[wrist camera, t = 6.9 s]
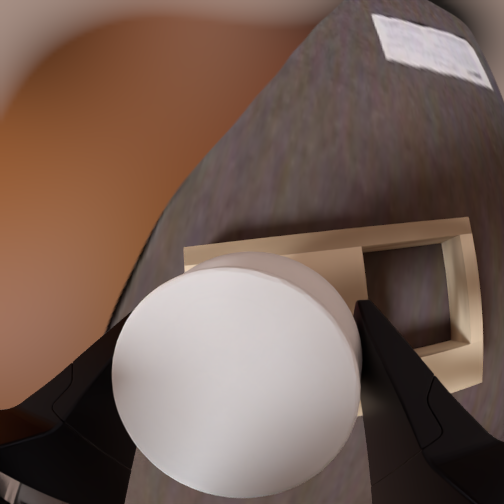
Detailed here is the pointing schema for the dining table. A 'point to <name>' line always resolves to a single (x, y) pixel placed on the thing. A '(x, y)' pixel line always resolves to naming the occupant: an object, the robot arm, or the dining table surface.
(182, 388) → the pill bottle
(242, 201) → the dining table surface
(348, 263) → the board
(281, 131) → the dining table surface
